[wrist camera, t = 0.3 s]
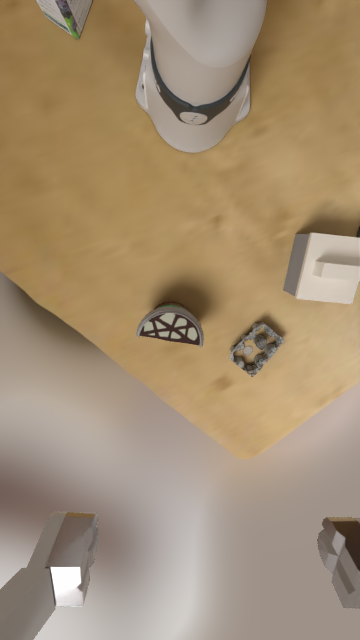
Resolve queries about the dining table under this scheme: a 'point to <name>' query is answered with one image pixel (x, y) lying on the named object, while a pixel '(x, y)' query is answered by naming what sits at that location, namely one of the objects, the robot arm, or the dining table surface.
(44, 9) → the syrup box
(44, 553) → the robot arm
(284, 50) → the dining table surface
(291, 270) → the crate
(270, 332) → the egg carton
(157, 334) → the food container
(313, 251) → the lid
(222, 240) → the dining table surface
